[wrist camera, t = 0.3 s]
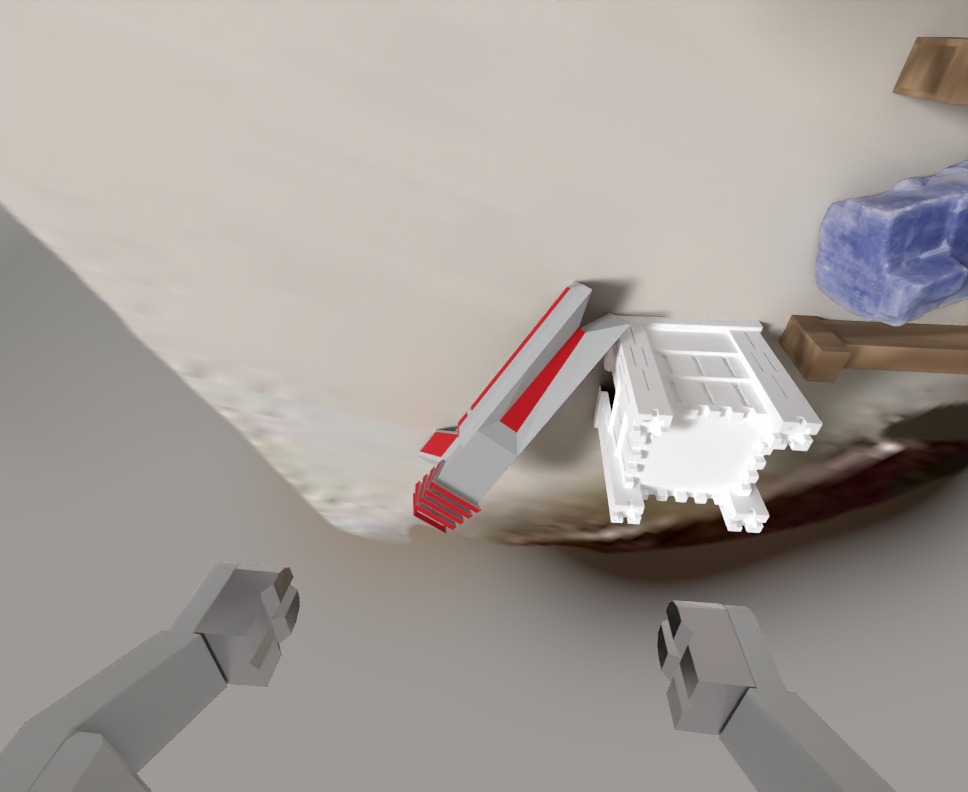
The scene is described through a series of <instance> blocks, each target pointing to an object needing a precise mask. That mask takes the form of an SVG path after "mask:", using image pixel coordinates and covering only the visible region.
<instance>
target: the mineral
mask: <svg viewBox="0 0 968 792" xmlns="http://www.w3.org/2000/svg"><path fill="white" fill-rule="evenodd" d="M816 283H817V285H818V288H819V290H821V291H822V292H823V293H824V294H825V295H827V296H828V297H829V298H831V299H832V300H833V301H834V302H836V303H837V304H839V305H841V306H842V307H843V308H845V309H846V310H848V311H849V312H851V313H853V314H856V315H859V316H862V317H864V318H866V319H868V320H870V321H879V322H882V323H885V324H889V325H891V326H902V325H904V324H905V323H907V322H908V321H912V320H915V319H918V318H920V317H921V316H923V315H924V314H925V313H927V312H929V311H931V310H932V309H934V308H937V307H944V306H947V305H949V304H952V303H956V302H959V301H963V300H966V299H968V160H966V161H964V162H961V163H958V164H955V165H952V166H949V167H948V168H945V169H944V170H942V171H941V172H940V173H938V174H936V175H934V176H930V177H929V178H922V177H911V178H907V179H904V180H901V181H899V182H897V183H896V184H895V185H894V187H893V188H892V189H891V190H888V191H886V192H883V193H881V194H878V195H875V196H870V197H868V196H865V197H858V198H852V199H847V200H844V201H837V202H834V203H832V204H831V205H830V206H829V208H828V210H827V212H826V215H825V217H824V219H823V222H822V225H821V228H820V239H819V251H818V256H817V260H816Z"/></svg>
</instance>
